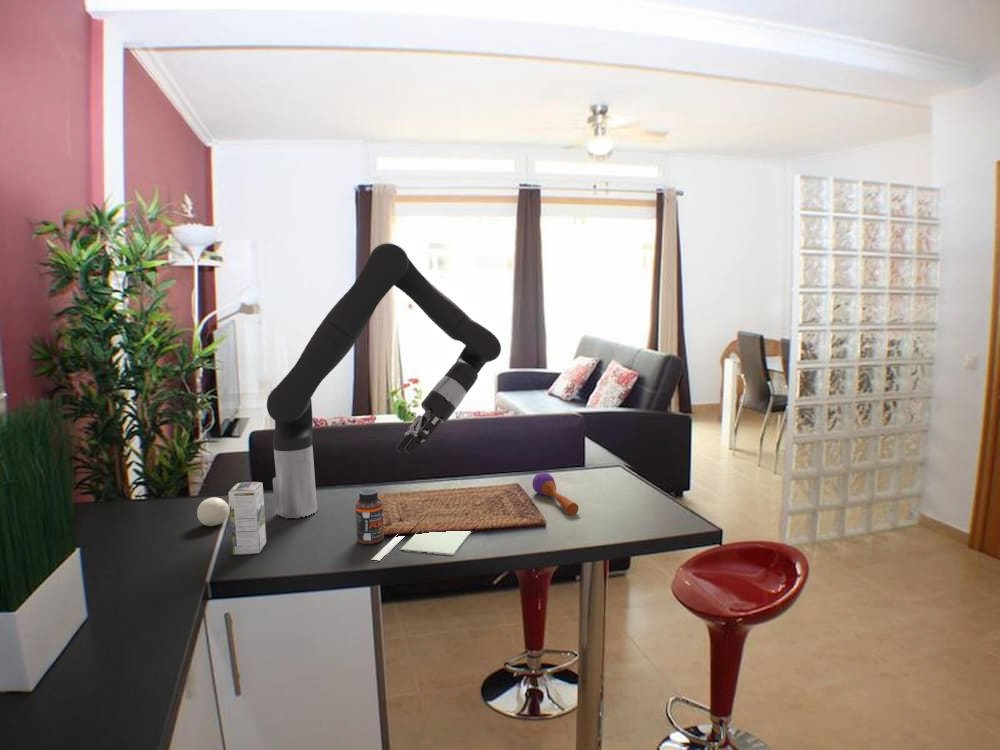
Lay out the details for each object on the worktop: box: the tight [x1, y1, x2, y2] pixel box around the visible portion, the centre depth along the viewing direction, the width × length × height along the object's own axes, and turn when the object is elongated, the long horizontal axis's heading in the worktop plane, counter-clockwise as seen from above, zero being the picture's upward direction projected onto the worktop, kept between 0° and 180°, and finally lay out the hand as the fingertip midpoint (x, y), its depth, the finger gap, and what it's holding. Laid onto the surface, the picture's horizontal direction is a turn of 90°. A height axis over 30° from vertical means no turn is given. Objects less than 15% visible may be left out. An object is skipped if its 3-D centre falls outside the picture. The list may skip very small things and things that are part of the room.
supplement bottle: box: [355, 488, 385, 545], centre depth 147 cm, size 6×6×11 cm
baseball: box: [196, 496, 230, 527], centre depth 159 cm, size 7×7×7 cm
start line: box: [371, 535, 406, 562], centre depth 147 cm, size 2×22×1 cm, turn 165°
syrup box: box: [228, 481, 268, 556], centre depth 143 cm, size 6×6×14 cm
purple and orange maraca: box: [532, 472, 579, 516], centre depth 168 cm, size 6×6×20 cm
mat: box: [400, 531, 472, 556], centre depth 147 cm, size 12×16×1 cm
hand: (403, 451), depth 156 cm, fingers open, 8 cm apart
